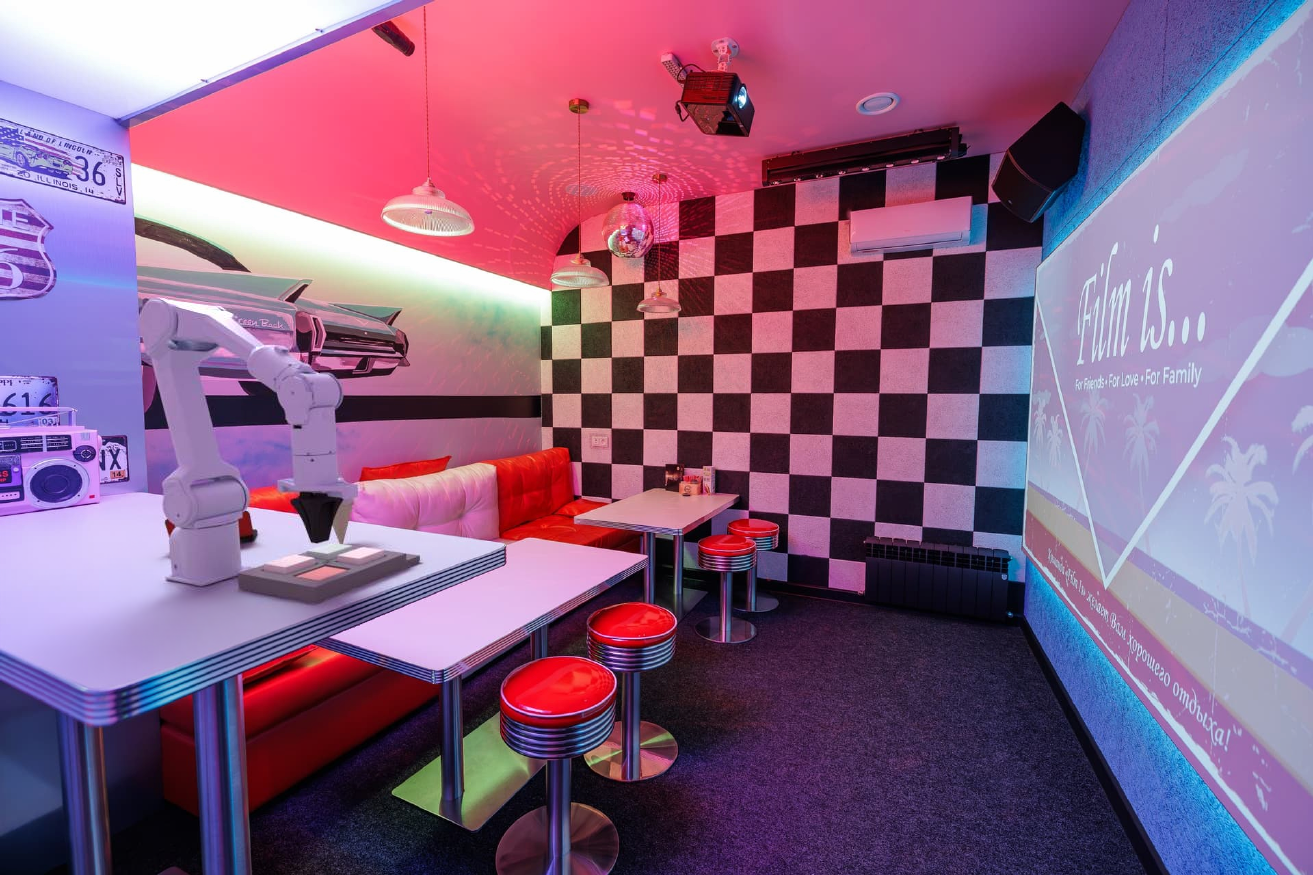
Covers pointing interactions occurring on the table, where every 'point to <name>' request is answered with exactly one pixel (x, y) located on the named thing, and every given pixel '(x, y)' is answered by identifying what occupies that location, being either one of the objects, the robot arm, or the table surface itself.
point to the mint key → (329, 551)
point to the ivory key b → (360, 556)
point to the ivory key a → (289, 564)
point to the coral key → (321, 573)
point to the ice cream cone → (342, 517)
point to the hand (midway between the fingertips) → (320, 541)
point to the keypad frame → (328, 586)
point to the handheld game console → (244, 525)
